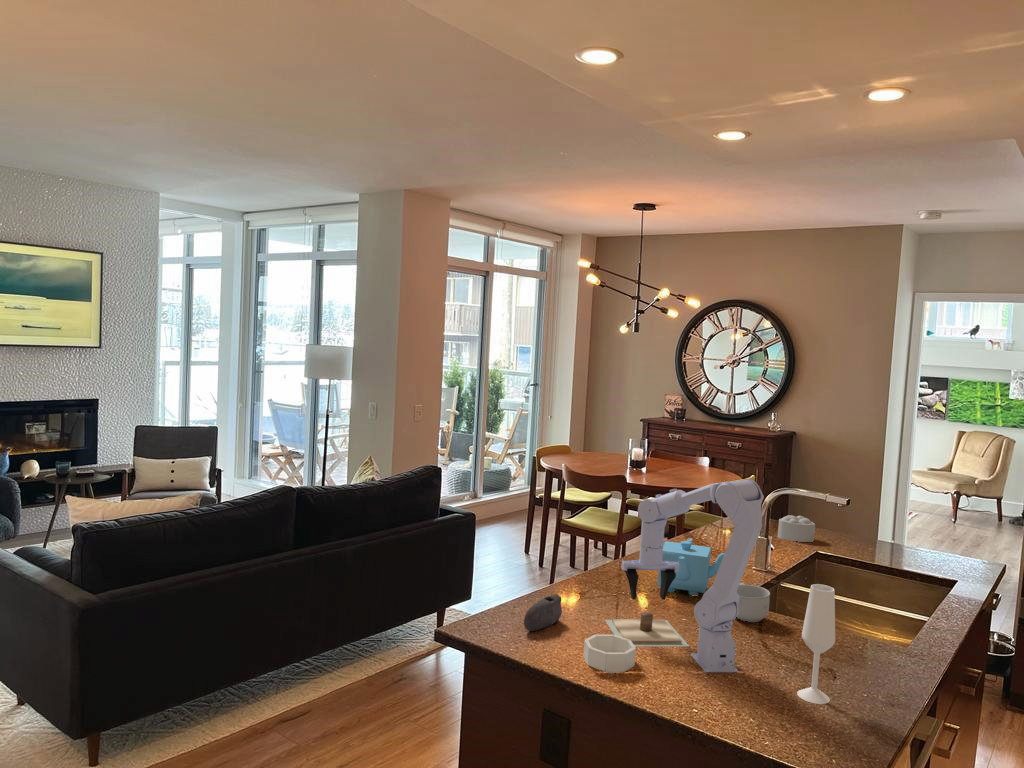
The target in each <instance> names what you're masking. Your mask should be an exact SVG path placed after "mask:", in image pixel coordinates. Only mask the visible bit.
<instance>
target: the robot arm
mask: <svg viewBox="0 0 1024 768" xmlns="http://www.w3.org/2000/svg"><path fill="white" fill-rule="evenodd" d="M764 499H765V496H764V494H763V491H762V489H761V487H760V486H759V484H758V483H757V482H756V481H755V480H753V479H751V478H745V479H741V480H731V481H721V482H716V483H710V484H707V485H704V486H702V487H699V488H696V489H694V490H691V491H688V492H686V491H684V490H682V489H677V488H672V489H669V492H668V493H665V494H661V493H659V494H655V497H654V498H644V499H643V500H642V501H640V503H639V504H638V507H637V514H638V516H639V518H640V520H641V531H640V543H639V544H640V545H639V559H634V560H633V559H632V560H631V559H630V560H621V565H620V566H621V567H620V569H621V570H622V571H623V572H624V573H625V575H626V578H627V582H628V585H629V590H630V597H631V598H632V600H636V599H637V588H638V581H639V577H640V576H639V574H638V572H637V571H659V570H661V586H660V589H659V597H660V599H662V600H666V598H667V594H668V593H667V592H668V589H669V587H670V585H671V583H672V582H673V580H674V579H675V577H676V573H675V571H677V572H679V564H678V563H677V562H670V561H662V556H663V545H664V543H665V542H664V540H665V528H666V526H667V521H668V519H669V518H672V517H677V516H679V515H683V514H686V513H688V512H689V511H690V509H691V507H692V506H695V505H697V504H701V503H707V502H710V501H711V502H712V503H713V504H718V506H719V507H720V509H721V510H722V511H723V513H724V514H725V515H726V516H727V517H728V519H729V520H730V521H731V522H732V523H733V525H734V528H733V531H732V534H731V536H730V539H729V542H728V544H727V547H726V549H725V552H724V553H725V554H724V557H723V559H722V562H721V564H720V567H719V570H718V572H717V574H716V575H715V578H714V580H713V583H712V585H711V586H710V587H709V588H707V589H706V592H705V593H702V597H701V599H700V600H699V601H697V602H696V604H695V605H694V609H693V616H694V618H695V620H696V622H697V626H699V627H698V640H697V652H695V653H690V656H691V657H692V658H693V659H694V661H695V662H696V664H698V666H699V667H700V668H701V669H702V670H703V672H705V673H738V672H739V671H738V670H739V669H737V667H736V666H735V661H736V651H737V647H736V643H735V640H734V639H733V636H732V626H733V621H734V620H736V619H737V618H736V617H737V616H738V612H739V609H738V603H739V600H740V596H739V595H738V594H737V589H738V587H739V584H740V583H741V581H742V579H743V576H744V574H745V571H746V569H747V567H748V564H749V561H750V558H751V557H752V553H753V550H754V548H755V546H756V543H757V541H758V538H759V536H760V533H761V530H762V527H763V516H762V503H763V500H764Z"/></svg>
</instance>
